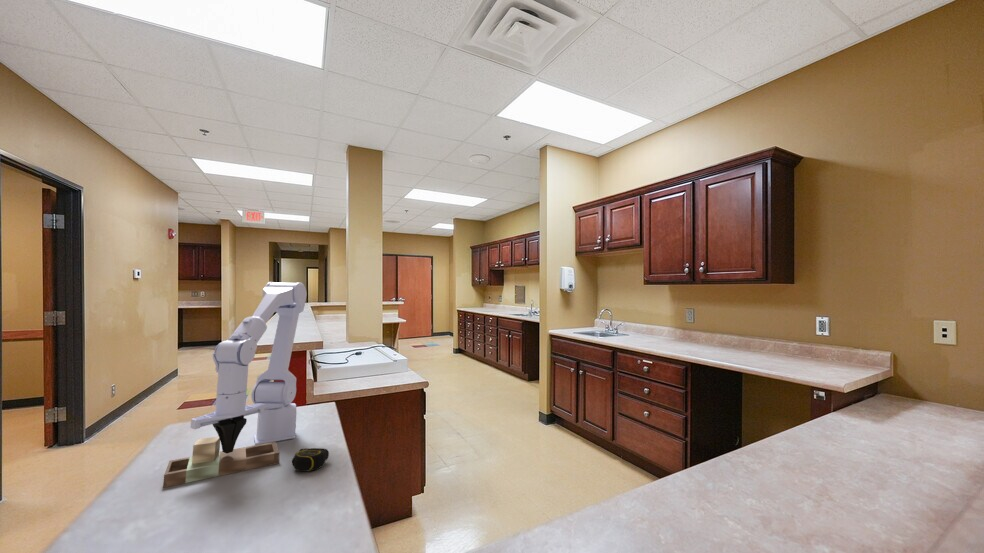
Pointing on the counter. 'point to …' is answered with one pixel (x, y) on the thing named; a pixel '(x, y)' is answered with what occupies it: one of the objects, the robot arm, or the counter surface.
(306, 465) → the tape measure
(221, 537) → the counter surface
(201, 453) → the beech block
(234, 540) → the counter surface
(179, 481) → the frame
